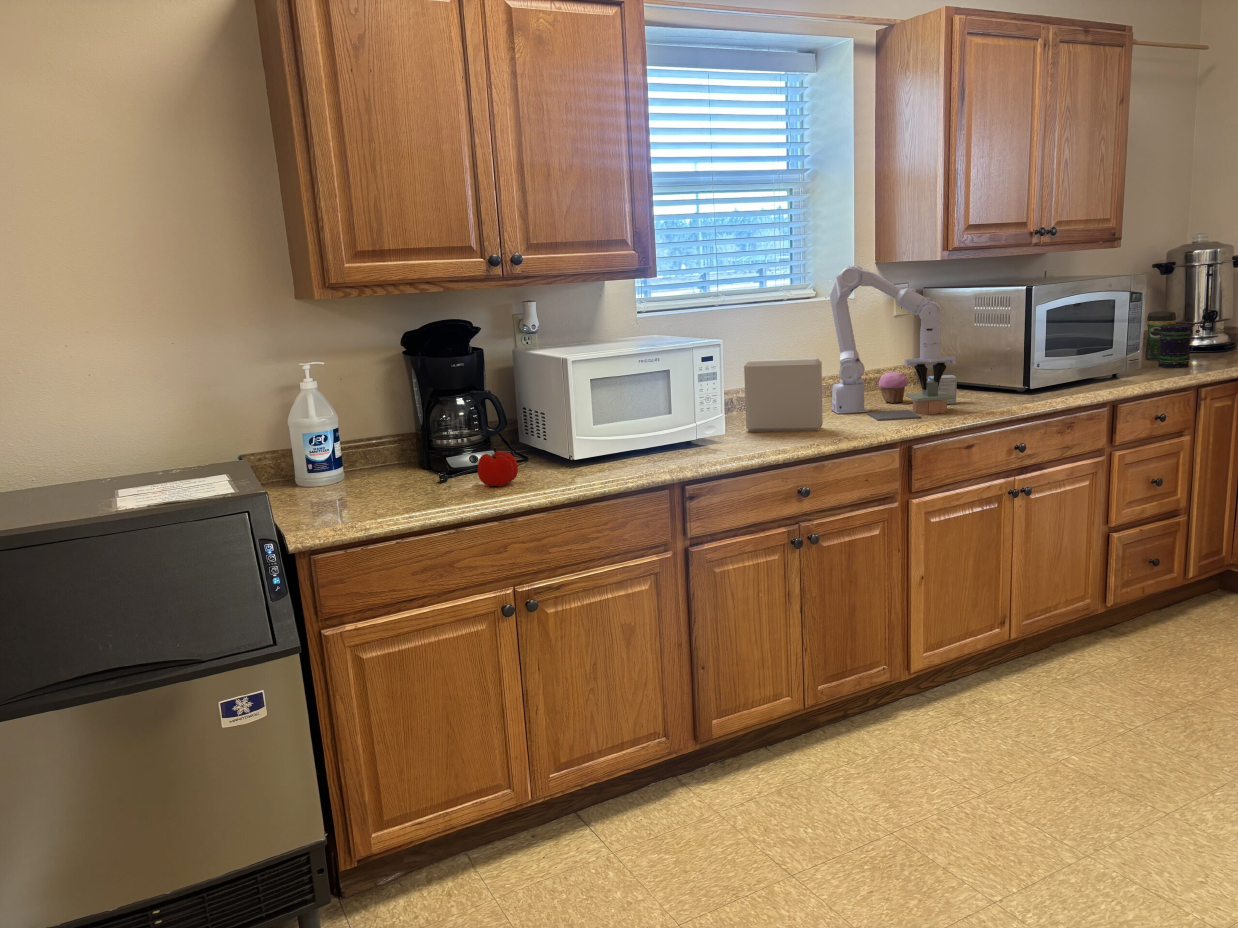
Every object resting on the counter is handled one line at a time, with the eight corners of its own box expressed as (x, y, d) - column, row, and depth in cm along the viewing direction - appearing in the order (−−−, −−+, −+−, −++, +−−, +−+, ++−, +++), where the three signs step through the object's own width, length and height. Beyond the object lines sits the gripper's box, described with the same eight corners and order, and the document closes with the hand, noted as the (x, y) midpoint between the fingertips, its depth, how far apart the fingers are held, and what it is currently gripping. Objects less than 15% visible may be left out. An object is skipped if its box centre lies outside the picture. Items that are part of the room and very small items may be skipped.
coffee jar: (1177, 358, 349) (1180, 310, 346) (1167, 361, 345) (1170, 312, 341) (1151, 357, 357) (1153, 310, 353) (1141, 360, 353) (1143, 312, 349)
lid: (917, 401, 264) (917, 385, 263) (905, 396, 274) (906, 380, 274) (955, 399, 263) (955, 382, 262) (942, 394, 274) (942, 378, 273)
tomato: (479, 490, 206) (476, 458, 205) (479, 482, 215) (476, 451, 213) (520, 486, 208) (517, 455, 206) (518, 478, 216) (515, 448, 215)
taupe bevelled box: (823, 426, 257) (822, 356, 253) (821, 431, 250) (820, 359, 245) (749, 427, 263) (747, 359, 259) (745, 432, 256) (743, 362, 252)
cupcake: (913, 402, 288) (913, 371, 286) (892, 405, 285) (892, 374, 283) (893, 399, 296) (893, 369, 294) (872, 402, 293) (872, 372, 291)
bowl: (919, 414, 266) (919, 401, 265) (910, 410, 274) (910, 397, 274) (949, 412, 265) (950, 399, 265) (939, 408, 274) (939, 395, 273)
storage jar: (1163, 364, 336) (1166, 324, 333) (1193, 365, 328) (1196, 324, 325) (1153, 367, 330) (1155, 326, 326) (1182, 369, 322) (1185, 327, 319)
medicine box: (952, 402, 284) (953, 374, 282) (956, 404, 280) (957, 376, 278) (927, 403, 285) (927, 376, 283) (930, 405, 281) (930, 377, 279)
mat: (877, 420, 260) (877, 419, 260) (866, 414, 273) (866, 412, 272) (921, 418, 260) (920, 416, 260) (908, 411, 272) (908, 410, 272)
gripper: (909, 346, 262) (909, 392, 265) (959, 342, 262) (959, 389, 264) (902, 344, 269) (902, 389, 272) (951, 341, 268) (950, 386, 271)
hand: (929, 389), depth 269 cm, fingers closed on lid, 3 cm apart
